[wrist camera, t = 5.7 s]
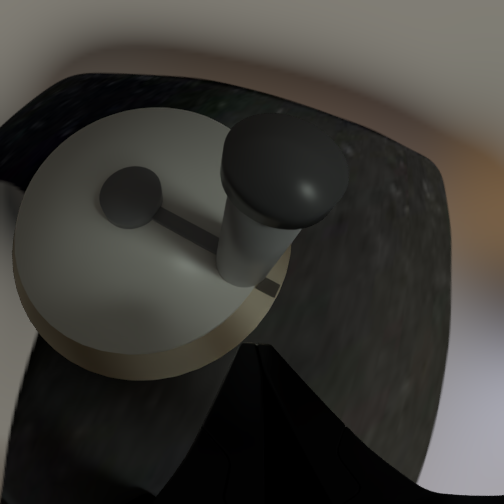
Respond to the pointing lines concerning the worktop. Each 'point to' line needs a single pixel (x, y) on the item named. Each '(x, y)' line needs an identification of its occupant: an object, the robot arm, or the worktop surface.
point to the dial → (167, 222)
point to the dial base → (171, 360)
